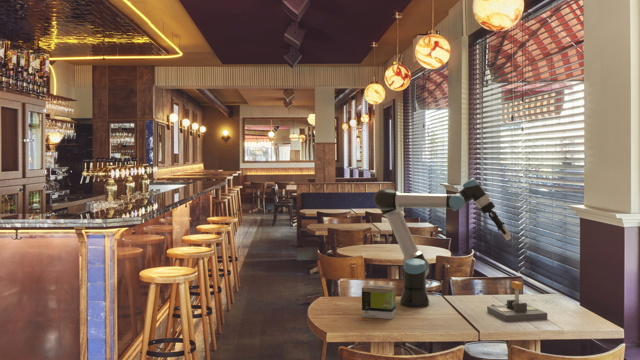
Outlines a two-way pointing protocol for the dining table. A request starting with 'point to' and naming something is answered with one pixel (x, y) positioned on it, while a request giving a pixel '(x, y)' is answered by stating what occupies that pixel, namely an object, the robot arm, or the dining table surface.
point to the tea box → (378, 301)
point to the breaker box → (516, 312)
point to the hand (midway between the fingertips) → (509, 237)
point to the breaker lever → (516, 290)
